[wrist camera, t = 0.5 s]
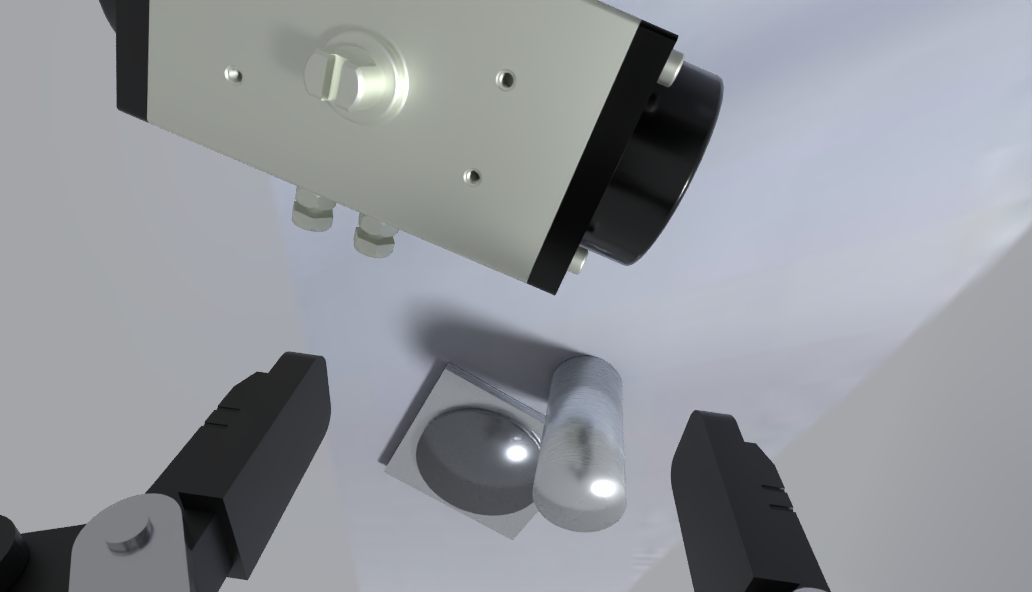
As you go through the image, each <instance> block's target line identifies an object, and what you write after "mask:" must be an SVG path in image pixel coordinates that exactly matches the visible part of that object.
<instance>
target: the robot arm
mask: <svg viewBox="0 0 1032 592" xmlns="http://www.w3.org/2000/svg"><path fill="white" fill-rule="evenodd" d="M330 415H331V403H330V394H329V385H328V376H327V367H326V361H325V359H324V357H323V356H317V355H310V354H303V353H296V352H286V353H284V354H283V355H282V356H281V357H280V359H279V360H278V361H277V362H276V364H275V365H274V366H273V368H272V369H271V370H270V372H269V373H263V372H256V373H254V374H253V375H251V376H249V377H248V378H247V379H245V380H243V381H242V382H240V383H239V384H237V385H236V386H234V387H233V388H232V390H231V391H230V392H229V393H228V394H227V396H226V397H225V398H224V399H223V400H222V401H221V403H220V404H219V405H218V408H217V410H214V411H213V412H212V414H211V415H210V416H209V417H208V418H207V420H206V421H205V424H204V426H201V427H200V428H199V429H198V431H197V432H196V433H195V434H194V435H193V437H192V438H191V439H190V440H189V442H188V443H187V444H186V445H185V446H184V447H183V449H182V450H181V451H180V452H179V454H178V455H177V456H176V457H175V458H174V460H173V461H172V462H171V463H170V464H169V466H168V467H167V468H166V469H165V471H164V472H163V473H162V474H161V475H160V477H159V478H158V479H157V480H156V481H155V483H154V484H153V485H152V486H151V487H150V488H149V490H148V491H147V492H146V493H145V494H141V495H136V496H133V497H129V498H126V499H124V500H121V501H119V502H117V503H115V504H113V505H111V506H109V507H107V508H106V509H104V510H103V511H101V512H100V513H99V514H97V515H96V516H95V517H94V518H92V520H91V521H89V522H88V523H87V524H83V525H78V526H71V527H64V528H57V529H50V530H44V531H37V532H30V533H24V534H20V533H19V531H18V530H17V528H16V527H15V525H14V524H13V522H12V521H11V520H10V519H8V518H7V517H4V516H2V515H0V592H218V591H219V589H220V587H221V586H222V584H223V582H224V580H225V579H226V577H230V578H237V579H244V580H248V579H249V577H250V575H251V573H252V571H253V569H254V567H255V566H256V564H257V562H258V560H259V558H260V556H261V554H262V552H263V551H264V549H265V547H266V545H267V543H268V541H269V539H270V538H271V535H272V534H273V532H274V530H275V528H276V526H277V524H278V522H279V521H280V519H281V517H282V515H283V513H284V511H285V509H286V507H287V505H288V503H289V502H290V500H291V498H292V496H293V494H294V492H295V490H296V489H297V487H298V485H299V483H300V481H301V479H302V477H303V476H304V473H305V472H306V470H307V468H308V466H309V464H310V462H311V461H312V459H313V457H314V455H315V453H316V451H317V449H318V447H319V446H320V444H321V442H322V440H323V438H324V436H325V434H326V431H327V429H328V425H329V421H330ZM671 485H672V490H673V495H674V500H675V504H676V509H677V513H678V518H679V523H680V527H681V532H682V537H683V541H684V546H685V550H686V555H687V560H688V564H689V569H690V573H691V578H692V582H693V587H694V592H831V591H830V589H829V587H828V585H827V583H826V580H825V578H824V576H823V574H822V572H821V569H820V567H819V565H818V562H817V560H816V558H815V556H814V554H813V551H812V549H811V546H810V544H809V542H808V540H807V538H806V535H805V533H804V531H803V529H802V526H801V524H800V522H799V519H798V517H797V515H796V513H795V512H793V506H792V503H791V501H790V499H789V497H788V494H787V493H785V491H784V485H783V483H782V481H781V479H780V476H779V474H778V472H777V470H776V467H775V465H774V464H773V463H772V461H771V460H770V459H769V458H768V457H767V456H766V455H765V453H764V452H763V451H762V450H761V449H760V448H759V447H758V445H757V444H756V443H749V442H744V440H743V437H742V435H741V432H740V430H739V427H738V425H737V422H736V420H735V419H734V417H733V416H732V415H727V414H720V413H713V412H706V411H699V410H695V411H694V412H693V413H692V414H691V416H690V418H689V421H688V423H687V425H686V428H685V430H684V433H683V435H682V438H681V440H680V443H679V445H678V447H677V450H676V452H675V455H674V457H673V461H672V467H671Z"/></svg>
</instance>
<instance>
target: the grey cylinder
mask: <svg viewBox="0 0 1032 592" xmlns="http://www.w3.org/2000/svg"><path fill="white" fill-rule="evenodd" d="M532 494H533V500H534V503H535V506H536V508H537V509H538V511H539V512H540V513H541V514H542V515H543V516H544V517H545V518H546V519H547V520H548V521H550V522H551V523H553V524H555V525H557V526H559V527H561V528H564V529H567V530H571V531H576V532H594V531H599V530H603V529H606V528H608V527H610V526H612V525H613V524H615V523H616V522H617V521H618V520H619V519H620V518H621V517H622V515H623V513H624V511H625V508H626V478H625V452H624V425H623V398H622V381H621V378H620V375H619V373H618V372H617V370H616V369H615V368H614V367H613V366H612V365H611V364H609V363H608V362H606V361H604V360H602V359H600V358H597V357H593V356H577V357H573V358H570V359H568V360H566V361H564V362H563V363H562V364H560V365H559V366H558V368H557V369H556V370H555V372H554V375H553V378H552V383H551V389H550V394H549V400H548V406H547V412H546V417H545V423H544V429H543V434H542V440H541V446H540V451H539V457H538V463H537V468H536V474H535V480H534V485H533V493H532Z"/></svg>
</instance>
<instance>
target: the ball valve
mask: <svg viewBox="0 0 1032 592" xmlns="http://www.w3.org/2000/svg"><path fill="white" fill-rule="evenodd" d="M99 2H100V4H101V7H102V9H103V11H104V14H105V16H106V18H107V20H108V21H109V23H110V25H111V27H112V28H113V29H114V31H115V32H116V72H117V75H116V76H117V108H118V110H120V111H122V112H124V113H127V114H129V115H131V116H134V117H136V118H138V119H141V120H143V121H146V122H148V123H150V124H152V125H155V126H157V127H160V128H162V129H164V130H167V131H169V132H171V133H174V134H176V135H179V136H181V137H183V138H185V139H188V140H190V141H193V142H195V143H197V144H200V145H202V146H204V147H207V148H209V149H211V150H214V151H216V152H218V153H221V154H223V155H225V156H228V157H230V158H233V159H235V160H237V161H240V162H242V163H244V164H247V165H249V166H251V167H254V168H256V169H259V170H261V171H263V172H266V173H268V174H270V175H273V176H275V177H277V178H280V179H282V180H284V181H287V182H289V183H291V184H294V185H296V186H297V189H296V201H294V206H293V213H292V222H293V223H294V224H295V225H296V226H298V227H300V228H302V229H305V230H308V231H314V232H322V231H326V230H328V229H329V228H330V227H331V225H332V220H333V211H332V209H333V208H334V207H335V206H336V203H339V204H341V205H343V206H346V207H348V208H350V209H353V210H355V211H357V212H360V213H359V226H360V227H356V230H355V234H354V247H355V249H356V250H357V251H358V252H360V253H362V254H364V255H366V256H369V257H373V258H384V257H387V256H389V255H390V254H391V253H392V251H393V248H394V244H395V243H394V239H393V236H394V235H395V234H396V233H398V230H399V229H400V230H402V231H404V232H407V233H409V234H412V235H414V236H416V237H419V238H421V239H423V240H426V241H428V242H430V243H433V244H435V245H437V246H440V247H442V248H444V249H447V250H449V251H452V252H454V253H456V254H459V255H461V256H463V257H466V258H468V259H470V260H473V261H475V262H477V263H480V264H482V265H485V266H487V267H489V268H492V269H494V270H496V271H499V272H501V273H503V274H506V275H508V276H510V277H513V278H515V279H517V280H520V281H522V282H525V283H526V281H527V284H529V285H532V286H534V287H536V288H539V289H541V290H543V291H546V292H548V293H550V294H553V295H556V293H557V291H558V288H559V286H560V284H561V282H562V280H563V278H564V276H565V274H566V272H567V271H569V272H572V273H574V274H579V273H580V271H581V270H582V268H583V266H584V263H585V261H586V259H587V256H588V250H589V251H592V252H594V253H596V254H599V255H601V256H604V257H606V258H608V259H611V260H613V261H615V262H618V263H620V264H622V265H625V266H629V265H632V264H634V263H635V262H637V261H638V260H639V259H640V258H642V256H643V255H644V254H645V253H646V252H647V251H648V250H649V249H650V248H651V246H652V245H653V244H654V242H655V241H656V240H657V238H658V237H659V235H660V234H661V233H662V231H663V230H664V228H665V227H666V225H667V223H668V222H669V220H670V219H671V217H672V215H673V214H674V212H675V210H676V209H677V207H678V205H679V203H680V202H681V200H682V198H683V196H684V194H685V192H686V191H687V189H688V187H689V185H690V183H691V181H692V179H693V177H694V175H695V173H696V171H697V168H698V166H699V164H700V162H701V160H702V158H703V155H704V153H705V151H706V148H707V146H708V144H709V141H710V138H711V136H712V133H713V130H714V128H715V125H716V122H717V119H718V116H719V112H720V108H721V104H722V99H723V89H724V86H723V81H722V79H721V78H720V77H719V76H717V75H715V74H713V73H711V72H708V71H706V70H704V69H701V68H699V67H697V66H694V65H692V64H690V63H688V62H685V61H684V58H685V56H684V54H683V53H681V52H678V51H676V50H674V49H673V47H674V45H675V43H676V41H677V39H678V35H676V34H674V33H672V32H669V31H667V30H665V29H662V28H660V27H658V26H655V25H653V24H651V23H649V22H646V21H644V20H641V19H639V18H637V17H635V16H633V15H630V14H628V13H626V12H623V11H621V10H619V9H616V8H614V7H612V6H610V5H607V4H605V3H603V2H600V1H598V0H99ZM527 279H528V280H527Z"/></svg>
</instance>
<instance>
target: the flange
mask: <svg viewBox="0 0 1032 592" xmlns="http://www.w3.org/2000/svg"><path fill="white" fill-rule="evenodd" d="M544 423H545V416H544V415H542V414H540V413H538V412H536V411H535V410H533V409H531V408H529V407H527V406H526V405H524V404H522V403H520V402H518V401H517V400H515V399H513V398H511V397H509V396H508V395H506V394H504V393H502V392H501V391H499V390H497V389H495V388H493V387H492V386H490V385H488V384H486V383H484V382H483V381H481V380H479V379H477V378H475V377H474V376H472V375H470V374H468V373H466V372H465V371H463V370H461V369H459V368H457V367H456V366H454V365H452V364H450V363H448V364H447V366H446V367H445V369H444V371H443V372H442V374H441V376H440V377H439V379H438V381H437V382H436V384H435V386H434V388H433V389H432V391H431V393H430V394H429V396H428V398H427V399H426V401H425V403H424V404H423V406H422V408H421V409H420V411H419V413H418V414H417V416H416V418H415V419H414V421H413V423H412V424H411V426H410V428H409V429H408V431H407V433H406V434H405V436H404V438H403V440H402V441H401V443H400V445H399V446H398V448H397V450H396V451H395V453H394V455H393V456H392V458H391V460H390V461H389V463H388V465H387V467H386V468H385V470H384V472H385V473H387V474H389V475H391V476H393V477H395V478H397V479H398V480H400V481H402V482H404V483H406V484H408V485H410V486H412V487H413V488H415V489H417V490H419V491H421V492H423V493H425V494H427V495H429V496H430V497H432V498H434V499H436V500H438V501H440V502H442V503H444V504H445V505H447V506H449V507H451V508H453V509H455V510H457V511H459V512H461V513H462V514H464V515H466V516H468V517H470V518H472V519H474V520H476V521H478V522H479V523H481V524H483V525H485V526H487V527H489V528H491V529H493V530H494V531H496V532H498V533H500V534H502V535H504V536H506V537H508V538H510V539H511V540H513V539H514V538H515V537H516V536H517V535H518V533H519V532H520V531H521V530H522V529H523V528H524V527H525V526H526V524H527V523H528V522H529V521H530V520H531V519H532V518H533V516H534V515H535V514H536V513H537V512H538V509H537V508H536V506H535V503H534V500H533V494H532V493H533V485H534V480H535V474H536V468H537V463H538V457H539V451H540V446H541V440H542V434H543V429H544Z"/></svg>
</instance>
